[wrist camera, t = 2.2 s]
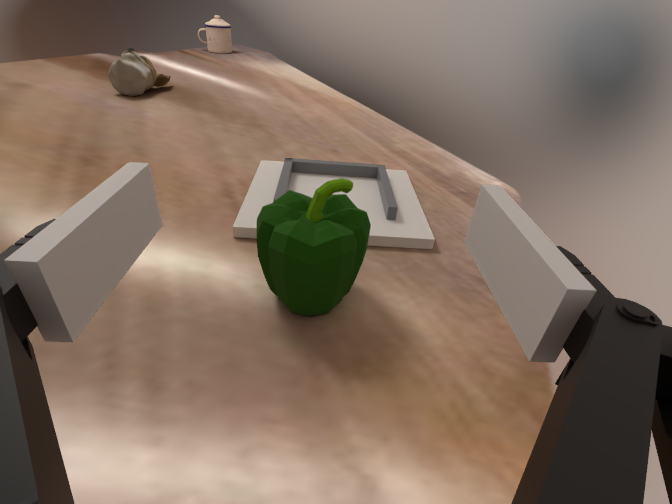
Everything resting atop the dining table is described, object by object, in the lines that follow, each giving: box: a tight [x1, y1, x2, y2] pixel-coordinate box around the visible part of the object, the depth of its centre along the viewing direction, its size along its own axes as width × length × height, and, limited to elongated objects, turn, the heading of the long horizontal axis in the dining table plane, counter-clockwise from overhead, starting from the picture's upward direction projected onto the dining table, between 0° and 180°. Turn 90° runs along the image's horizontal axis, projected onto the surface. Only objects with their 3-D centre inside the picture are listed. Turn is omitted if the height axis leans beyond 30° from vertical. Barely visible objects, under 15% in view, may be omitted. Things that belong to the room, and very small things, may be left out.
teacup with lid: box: [198, 15, 232, 54], centre depth 138 cm, size 12×9×12 cm
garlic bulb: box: [108, 49, 170, 96], centre depth 81 cm, size 11×9×15 cm
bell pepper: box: [257, 178, 371, 316], centre depth 28 cm, size 8×8×10 cm
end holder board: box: [233, 158, 435, 249], centre depth 44 cm, size 20×18×3 cm
